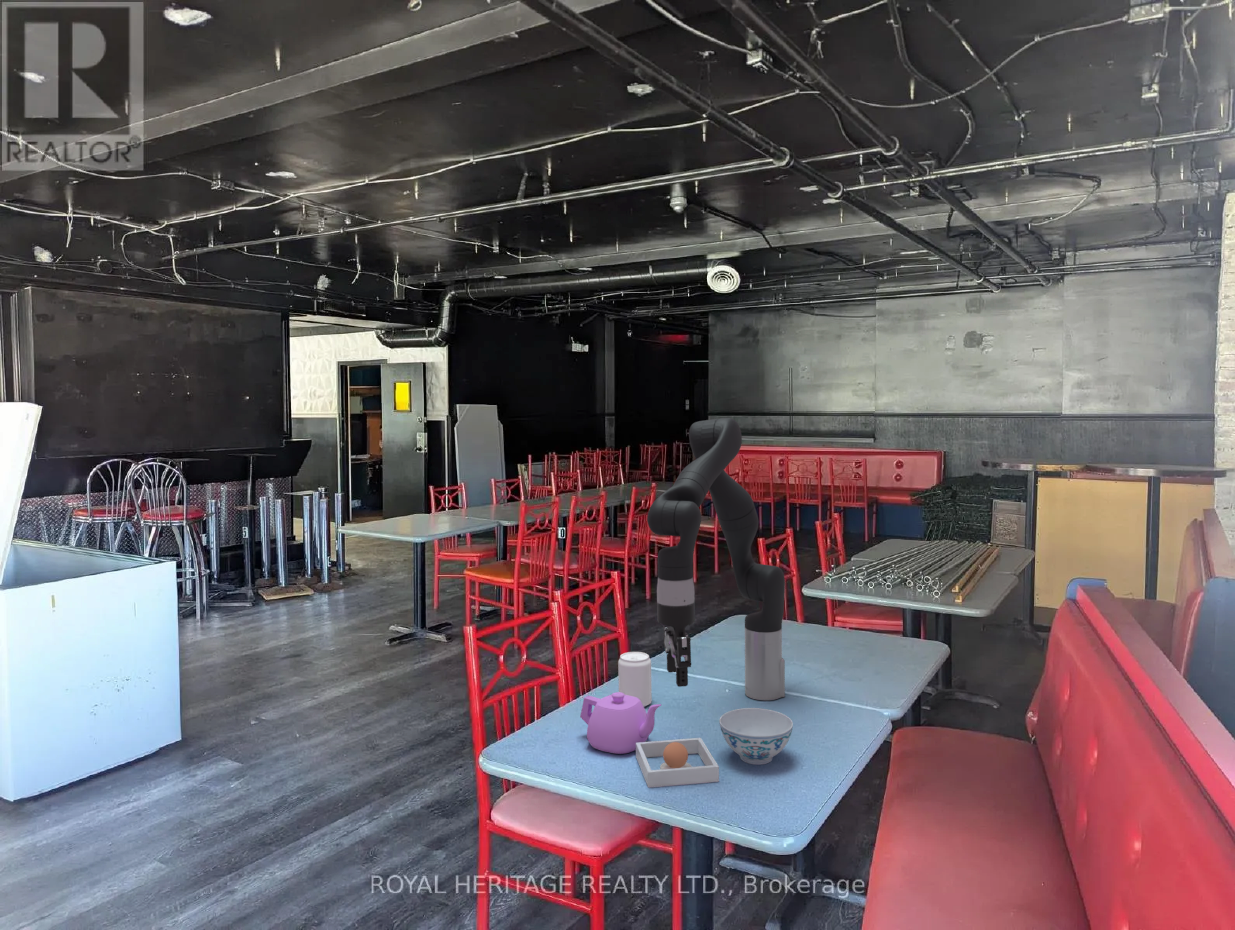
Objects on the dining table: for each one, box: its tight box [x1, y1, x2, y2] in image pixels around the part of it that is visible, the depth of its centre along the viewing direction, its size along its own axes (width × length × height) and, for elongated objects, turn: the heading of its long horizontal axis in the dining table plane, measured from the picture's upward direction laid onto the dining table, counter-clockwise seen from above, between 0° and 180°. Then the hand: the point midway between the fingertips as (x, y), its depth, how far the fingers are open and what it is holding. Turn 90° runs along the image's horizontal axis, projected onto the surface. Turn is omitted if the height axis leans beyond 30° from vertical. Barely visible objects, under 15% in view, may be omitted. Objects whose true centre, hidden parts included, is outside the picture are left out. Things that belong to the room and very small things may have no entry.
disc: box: [659, 761, 693, 770], centre depth 161 cm, size 6×6×1 cm
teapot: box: [580, 691, 662, 755], centre depth 173 cm, size 13×20×11 cm, turn 60°
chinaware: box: [718, 707, 794, 766], centre depth 165 cm, size 15×15×8 cm
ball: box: [662, 742, 689, 768], centre depth 161 cm, size 5×5×5 cm
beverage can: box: [617, 651, 652, 708], centre depth 197 cm, size 8×8×12 cm
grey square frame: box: [635, 737, 720, 788], centre depth 161 cm, size 14×14×3 cm
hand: (677, 678), depth 161 cm, fingers open, 8 cm apart
